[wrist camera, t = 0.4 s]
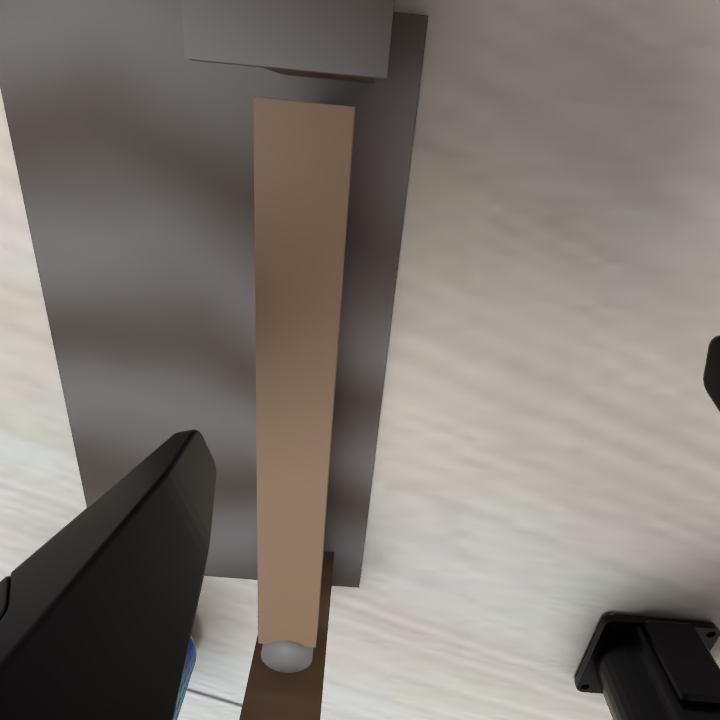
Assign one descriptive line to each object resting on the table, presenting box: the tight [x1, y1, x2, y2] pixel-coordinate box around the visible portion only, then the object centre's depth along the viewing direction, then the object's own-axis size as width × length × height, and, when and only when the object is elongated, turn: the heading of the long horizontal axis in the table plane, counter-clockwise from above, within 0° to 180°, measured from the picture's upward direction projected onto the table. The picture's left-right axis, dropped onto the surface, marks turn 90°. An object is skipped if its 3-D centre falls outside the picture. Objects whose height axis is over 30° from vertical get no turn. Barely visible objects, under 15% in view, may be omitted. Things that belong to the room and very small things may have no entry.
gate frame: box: [0, 0, 428, 720], centre depth 17 cm, size 28×14×10 cm, turn 175°
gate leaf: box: [253, 97, 355, 673], centre depth 19 cm, size 20×2×6 cm, turn 175°
